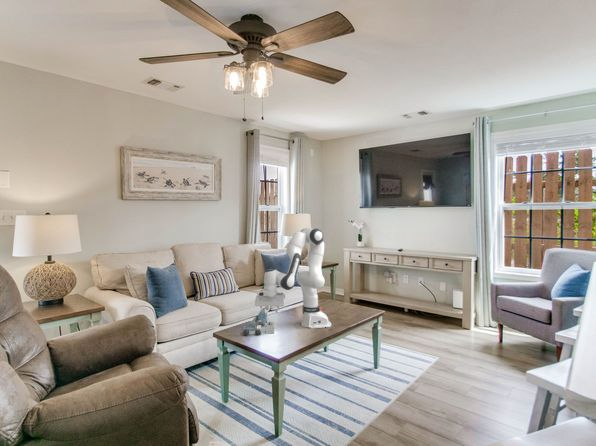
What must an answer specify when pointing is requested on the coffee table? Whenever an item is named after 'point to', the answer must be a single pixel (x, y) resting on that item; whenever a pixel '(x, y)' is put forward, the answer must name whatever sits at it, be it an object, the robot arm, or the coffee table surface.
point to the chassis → (252, 330)
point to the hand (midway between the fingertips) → (269, 312)
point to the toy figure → (261, 317)
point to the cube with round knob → (270, 328)
